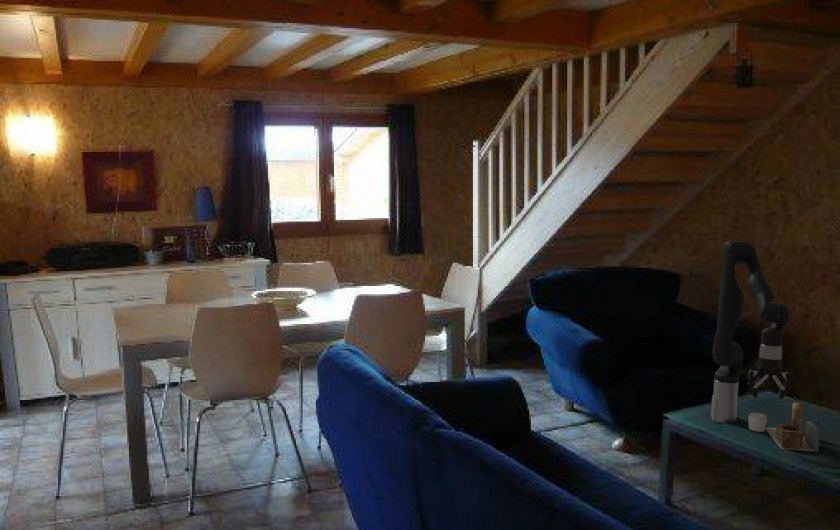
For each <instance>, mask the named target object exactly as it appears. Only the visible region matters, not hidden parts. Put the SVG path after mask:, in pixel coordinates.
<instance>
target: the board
mask: <svg viewBox="0 0 840 530" xmlns="http://www.w3.org/2000/svg"><path fill="white" fill-rule="evenodd" d="M765 431H766V432H767V433H768V434H769V435H770V437H771V438H772V440H773V441H774V442H775V443H776V444H777V446H778V447H779V448H780V449H781V450H782V449H783V450H795V451H804V452H805V451H806V452H816V453H817V451H813V450H812V449H811V448H810V447H809V446H808V444H807V443H806V442H805V435H803V445H802V448H790V447H781V445H780V444H779V443H778V442H777V440H776V439H775V438H776V427H769V426H768V427H765Z"/></svg>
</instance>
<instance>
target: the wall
mask: <svg viewBox="0 0 840 530" xmlns="http://www.w3.org/2000/svg"><path fill="white" fill-rule="evenodd" d="M804 432H805V434H804V437H805V442H806V443H807V444H808V446H809V447H810V448H811V449H812V450H813V451H812V452H815V451H817V452H819V444H820V432H821V431H820V429H819V428H818V427H817V426H816V425H815V424H814V423H813V422H812V421H809V420H805V431H804ZM817 452H816V453H817Z"/></svg>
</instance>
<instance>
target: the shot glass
mask: <svg viewBox="0 0 840 530" xmlns="http://www.w3.org/2000/svg"><path fill="white" fill-rule="evenodd" d="M747 416H748V417H747V419H748V421H747V422H748V429H749V430H751V431H753V432H765V431H766V429H765V427H766V426H767V420H768V416H767V415H766V414H765V413H761V412H756V411H755V412H754V411H753V412H748V413H747Z"/></svg>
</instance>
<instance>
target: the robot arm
mask: <svg viewBox="0 0 840 530" xmlns="http://www.w3.org/2000/svg"><path fill="white" fill-rule="evenodd" d="M736 264H737V265H745V266H746V268H747V269H748V278H747V289H748V291H749V292H750V294H751V297H752V298H753V300H754V303H755V304H754V305H755V310H756V315H757V318H758V319H759V320H760V321H761V322H763V323H765V324H766V323H771V325H770V326H769V327H765V328H762V330H761V335H760V346H759V352H758V367H757V368H758V369H757V370H752V369H751V368H750V369H749V370H748V376H747V383H746V384H747V385H748V387H752V390H751V392H752V393H751V394H752V396H753V398H754V399H757V398H758V389H759V388H758V387H759V386H761V385H762V384H763V383H764V384H775V383H776V384H777V386H778V387H779V389H778V396H777V397H778V399H779V400H780V401H782V400H783V399H784V398H785V391H786V390H790V389H791V373H789V372H788V371H785V372H782V357H783V356H782V355H783V347H782V346H783V334H784V332H785V329H786V326H787V324H788V322H789V317H790V311H789V308H788V306H787V305H786V304H785V303H781V302H780V303H772V301H774V299H775V294H774V291H773V290H772V288H771V286H770V285H769V283H768V281H767V279H766V278H765V275H764V273H763V270H762V267H761V263H760V261H759V258H758V254H757V252H756V249H755V247H754V245H753V244H752V243H751V242H749V241H744V240H743V241H742V240H739V241H738V240H736V241H735V240H727V241H726V242H725V243H724V244H723V246H722V250H721V281H720V282H721V283H720V291H719V300H718V301H719V302H718V311H717V312H718V314H717V324H716V333H715V336H714V341H713V346H712V352H711V353H712V359H713V361H714V362H715V363H716V364H717V365H718V366H719V367H718V369H717V370H716V371H715V372H714V377H713V378H714V379H713V380H714V381H713V393H712V396H711V405H710V406H711V408H710V409H711V410H710V418H711V420H712V421H713V422H716V423H719V424H721V423H728V424H735V423H736V421H737V412H738V411H737V410H738V396H739V395H738V394H739V384H740V383H739V381H740V377H741V375H742V370H743V362H744V352H743V351H744V350H743V348H742V346H741V345H740V344H739V343H738V342H736V341H734V334H735V332H736V329H737V326H738V325H739V323H740V320H741V319H742V316H743V313H744V307H745V305H744V304H745V294H744V292H743V290H742V288H741V286H740V284H739V282H738V280H737V277H736V270H735V269H736ZM756 375H757V376H758V377H757V378H756V380H754V377H755V376H756ZM782 377H783V379H784V384H782V383H781V381H780V379H781V378H782ZM753 380H754V381H753Z"/></svg>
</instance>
